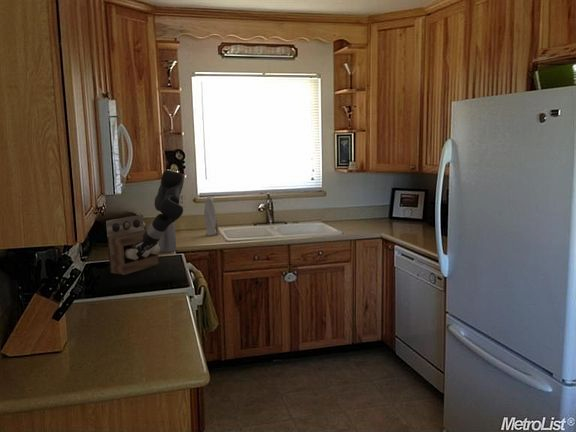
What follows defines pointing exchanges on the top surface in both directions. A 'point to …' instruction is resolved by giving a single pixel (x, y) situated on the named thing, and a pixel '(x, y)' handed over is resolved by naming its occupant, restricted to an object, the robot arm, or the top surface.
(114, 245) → the brown toy oven
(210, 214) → the skyscraper
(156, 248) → the button right
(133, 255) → the button left
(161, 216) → the robot arm
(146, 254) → the button middle
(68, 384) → the top surface
